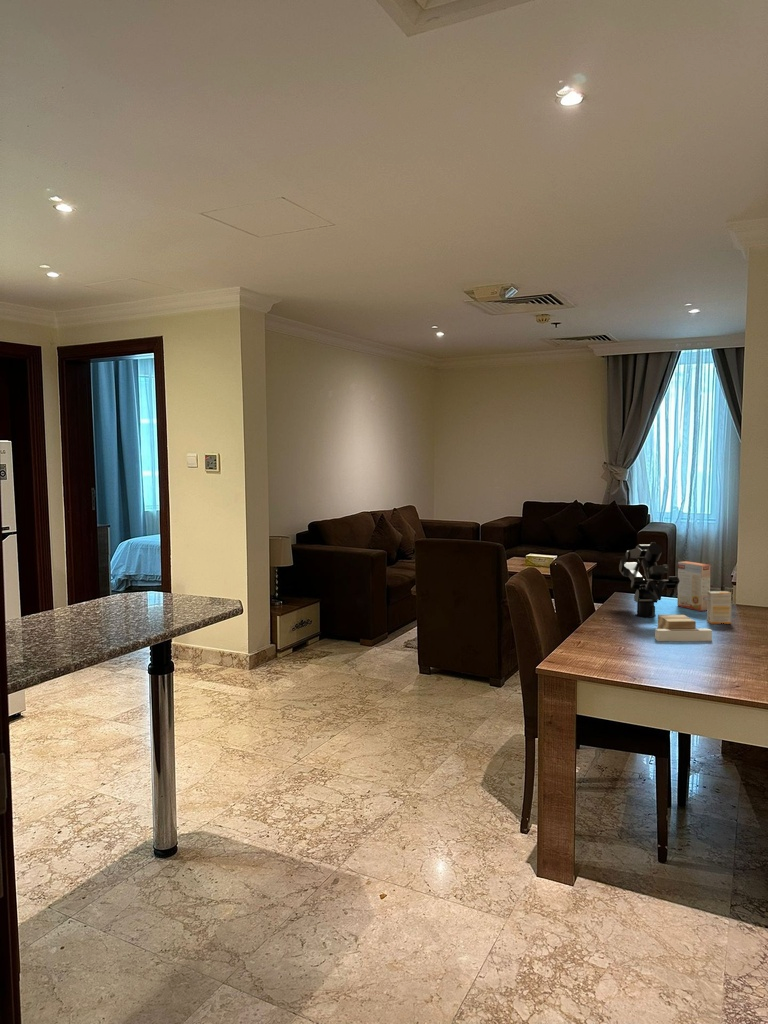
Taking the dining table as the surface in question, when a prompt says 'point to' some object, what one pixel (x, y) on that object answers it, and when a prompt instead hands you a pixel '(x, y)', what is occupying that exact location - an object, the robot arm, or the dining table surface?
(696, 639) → the cream board
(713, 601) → the supplement box
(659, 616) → the oak block
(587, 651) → the dining table surface
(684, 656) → the dining table surface
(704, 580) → the cracker box
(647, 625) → the dining table surface
